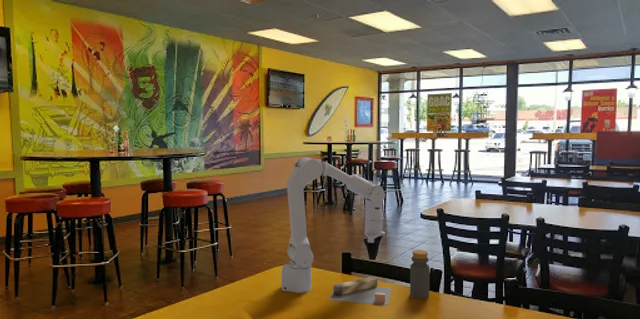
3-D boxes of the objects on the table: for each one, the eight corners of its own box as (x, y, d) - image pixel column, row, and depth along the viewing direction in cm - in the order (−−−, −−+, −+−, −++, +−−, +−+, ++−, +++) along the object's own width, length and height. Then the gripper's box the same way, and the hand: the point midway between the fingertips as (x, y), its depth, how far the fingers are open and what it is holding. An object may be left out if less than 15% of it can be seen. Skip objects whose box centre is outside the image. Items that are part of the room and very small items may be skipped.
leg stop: (374, 301, 131) (374, 294, 131) (375, 299, 133) (375, 292, 133) (384, 302, 131) (384, 295, 130) (385, 300, 132) (385, 293, 132)
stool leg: (336, 296, 136) (336, 288, 135) (331, 292, 138) (331, 285, 138) (377, 285, 144) (377, 278, 144) (371, 283, 146) (371, 276, 146)
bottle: (429, 303, 133) (430, 255, 132) (410, 301, 134) (410, 254, 133) (428, 295, 139) (429, 249, 138) (410, 294, 140) (410, 248, 139)
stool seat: (328, 303, 133) (328, 299, 133) (337, 286, 147) (337, 283, 147) (387, 309, 129) (387, 305, 129) (391, 291, 143) (391, 287, 142)
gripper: (382, 224, 142) (382, 265, 143) (387, 215, 156) (386, 252, 157) (361, 223, 144) (361, 263, 145) (367, 214, 158) (367, 251, 159)
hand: (373, 257), depth 151 cm, fingers open, 4 cm apart
